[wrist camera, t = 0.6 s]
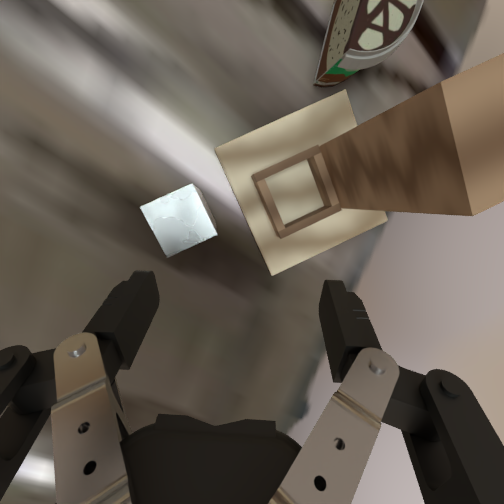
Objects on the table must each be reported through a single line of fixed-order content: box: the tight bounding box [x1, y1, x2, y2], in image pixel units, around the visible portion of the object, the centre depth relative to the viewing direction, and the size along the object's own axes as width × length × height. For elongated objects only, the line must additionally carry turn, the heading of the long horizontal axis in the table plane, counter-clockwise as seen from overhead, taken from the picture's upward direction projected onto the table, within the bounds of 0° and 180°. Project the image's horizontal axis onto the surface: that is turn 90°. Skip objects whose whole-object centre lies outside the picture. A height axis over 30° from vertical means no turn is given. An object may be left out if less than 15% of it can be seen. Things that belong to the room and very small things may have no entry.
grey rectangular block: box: [140, 183, 217, 258], centre depth 28 cm, size 5×5×13 cm
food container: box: [313, 0, 423, 87], centre depth 28 cm, size 12×6×10 cm, turn 166°
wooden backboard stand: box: [215, 53, 504, 276], centre depth 26 cm, size 18×18×21 cm
